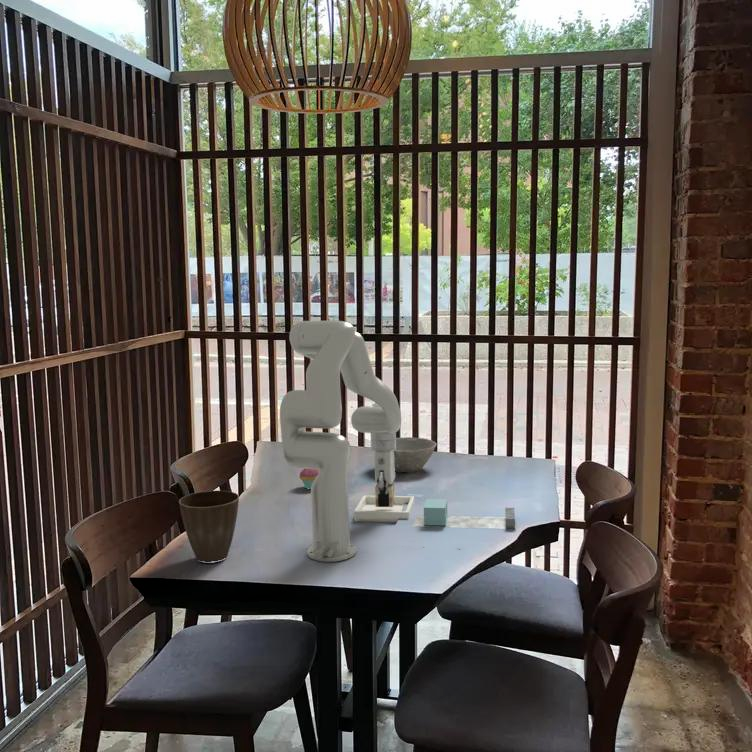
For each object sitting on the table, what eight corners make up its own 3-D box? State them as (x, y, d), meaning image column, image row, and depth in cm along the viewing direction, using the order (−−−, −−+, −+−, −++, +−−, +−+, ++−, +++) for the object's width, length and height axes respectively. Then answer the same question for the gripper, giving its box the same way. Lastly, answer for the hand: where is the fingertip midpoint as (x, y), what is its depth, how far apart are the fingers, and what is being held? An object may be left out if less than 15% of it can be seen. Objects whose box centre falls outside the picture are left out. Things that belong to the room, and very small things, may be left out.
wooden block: (392, 507, 221) (391, 487, 221) (375, 506, 222) (375, 487, 221) (394, 502, 226) (394, 482, 226) (378, 501, 227) (377, 482, 226)
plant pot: (218, 544, 202) (214, 487, 200) (254, 556, 193) (251, 496, 191) (170, 561, 191) (166, 500, 189) (206, 574, 181) (203, 510, 179)
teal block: (445, 525, 208) (445, 508, 207) (424, 524, 209) (423, 507, 208) (447, 516, 216) (447, 499, 215) (426, 515, 216) (426, 499, 216)
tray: (408, 522, 216) (408, 512, 215) (354, 521, 218) (354, 511, 218) (414, 505, 231) (414, 496, 231) (363, 504, 234) (363, 495, 233)
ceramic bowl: (375, 463, 286) (374, 437, 285) (435, 462, 285) (435, 436, 284) (373, 478, 264) (372, 451, 263) (438, 477, 263) (437, 450, 262)
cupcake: (297, 486, 257) (295, 452, 256) (320, 483, 260) (319, 449, 259) (303, 492, 249) (302, 457, 248) (328, 489, 252) (326, 454, 251)
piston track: (515, 533, 204) (515, 519, 203) (413, 530, 208) (412, 516, 208) (514, 521, 214) (514, 507, 213) (416, 519, 218) (416, 506, 218)
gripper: (392, 450, 213) (393, 512, 215) (399, 438, 230) (401, 495, 232) (366, 450, 214) (368, 512, 216) (375, 438, 231) (377, 495, 233)
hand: (385, 503), depth 224 cm, fingers closed on wooden block, 4 cm apart
